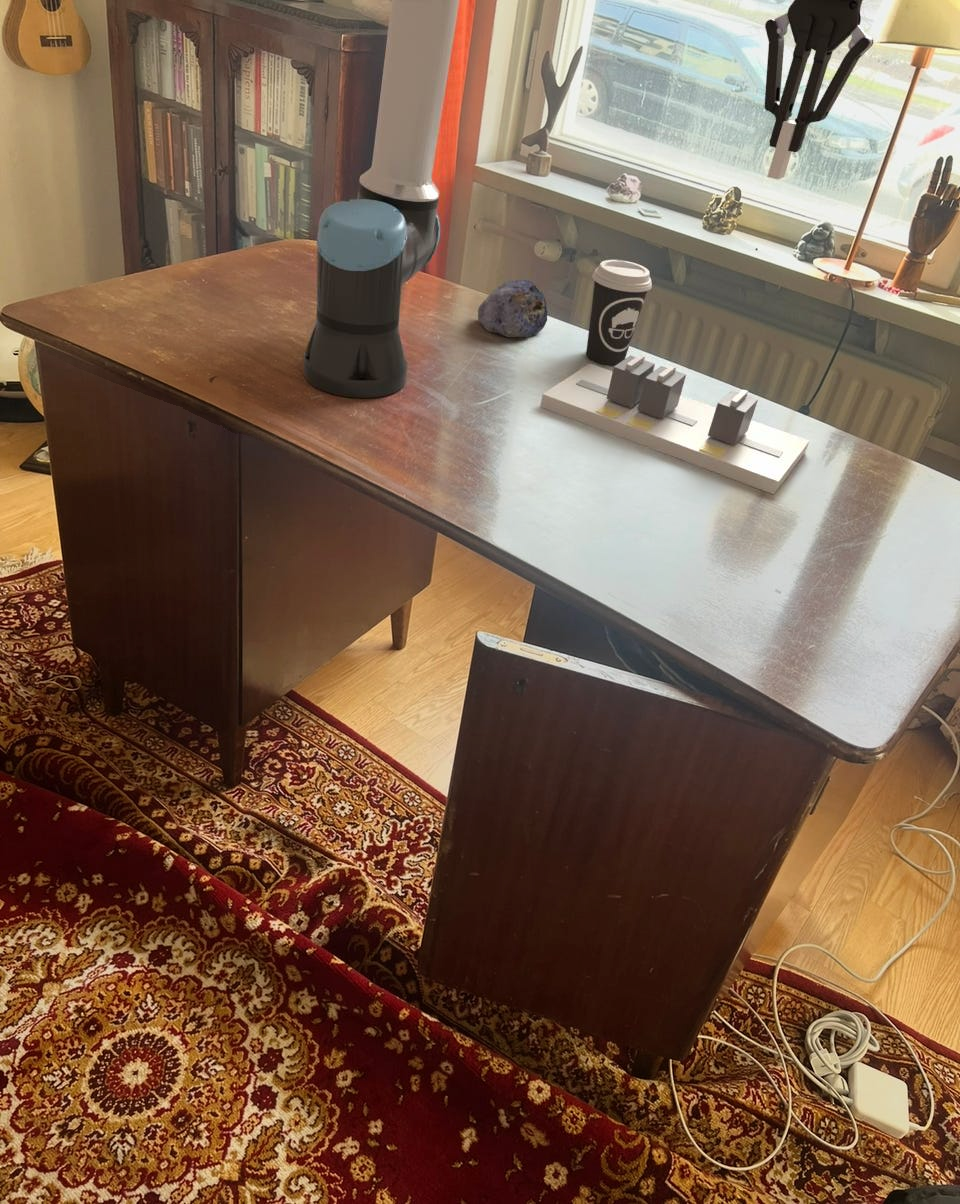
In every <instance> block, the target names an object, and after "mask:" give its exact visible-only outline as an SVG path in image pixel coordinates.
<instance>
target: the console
mask: <svg viewBox="0 0 960 1204" xmlns="http://www.w3.org/2000/svg"><path fill="white" fill-rule="evenodd" d="M612 373H613V370H609V369H607V368H604V367H600V366H599V365H594V364H592V363H588V364H587V365H585V366H584V367H582V368H580V369H579V370H577V371H576V372H574V373H573V374H571V375H569V376H568V377H567V378H565V379H563V380H562V381H560V382H559V383H557V384H556V385H554V386H552V387H551V388H549V389H548V390H546V391H545V392H543V393H542V395H541V401H540V407H541V408H543V409H545V410H548V411H550V412H554V413H557V414H559V415H562V416H565V417H568V418H570V419H573V420H576V421H578V422H581V423H583V424H586V425H589V426H590V427H594V428H597V429H599V430H602V431H605V432H607V433H610V434H613V435H615V436H618V437H620V438H623V439H626V440H628V441H631V442H634V443H636V444H639V445H641V446H644V447H647V448H650V449H651V450H655V451H658V452H661V453H663V454H665V455H667V456H672V458H673V457H674V458H676V459H679V460H682V461H684V462H687V463H689V464H692V465H695V466H697V467H700V468H702V469H704V470H708V471H711V472H713V473H716V474H718V475H722V476H724V477H725V478H726V477H727V478H729V479H732V480H735V481H737V482H740V483H743V484H745V485H747V486H748V485H749V486H750V487H753V488H756V489H758V490H761V491H763V492H766V493H770V494H771V495H775V493H776V492H777V491H778V490H779V489H780V487H781V486H782V484H783V483H784V482H785V480H786V479H787V478H788V476H789V475H790V474H791V472H793V470H794V468H795V467H797V464H798V463H799V462H800V461H801V459H802V458H803V457H804V455H805V454H806V451H807V449H808V446H809V443H810V440H809V439H806V438H803V437H801V436H797V435H794V434H791V433H789V432H785V431H783V430H781V429H777V428H774V427H772V426H769V425H766V424H763V423H760V422H758V421H754V420H753V419H751V422H750V425H749V428H748V431H747V432H746V433H745V434H744V435H743V437H742V438H741V439H740V440H739V441H738V442H737V443H736V444H735V445H732V444H730V443H727V442H724V441H721V440H719V439H716V438H713V437H710V436H708V433H709V430H710V426H711V423H712V420H713V417H714V413H715V410H716V407H714V406H713V405H712V406H711V405H709V404H706V403H703V402H701V401H697V400H694V399H691V398H689V397H686V396H683V395H682V394H681V395H680V399H679V402H678V406H677V407H676V408H675V409H674V410H672V411H671V412H670V413H669V414H668V415H667V416H665V417H664V418H663V419H661V418H658V417H655V416H652V415H650V414H647V413H644V412H641V411H639V410H637V409H638V405H639V402H638V403H637V404H635V405H634V406H633V407H631V408H630V407H628V406H625V405H622V404H619V403H617V402H614V401H611V400H608V399H607V394H608V390H609V386H610V381H611V377H612Z"/></svg>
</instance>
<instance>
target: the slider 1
mask: <svg viewBox="0 0 960 1204" xmlns="http://www.w3.org/2000/svg"><path fill="white" fill-rule="evenodd" d="M645 358H646V356H645V355H643V354H639V355H637V356H633V355H629V356H628V357H627V356H626V357H625V359H624V360H623V361H622V362H620V363H619V364H617V365H616V366H613V368H612V372H613V373H612V377H611V381H610V386H609V390H608V394H607V399H608V400H611V401H614V402H617V403H619V404H622V405H625V406H628V407H630V408H631V407H633V406H634V405H635V404H637V403H638V402H639V401H640V397H641V393H642V389H643V385H644V381H645V378H646V377H647V376H648V375H650V374H651V373H652V372H654V371H655V365H656V364H655V362H654V363H653V362H650V361H648V360H645Z"/></svg>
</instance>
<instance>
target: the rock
mask: <svg viewBox="0 0 960 1204" xmlns="http://www.w3.org/2000/svg"><path fill="white" fill-rule="evenodd" d="M546 302H547V301H546V298H545V295H544V293H543V292H542V291H540V289H538V288H537V286H536V285H535V284H534V283H533V282H532V281H530V280H523V279H522V280H515V281H514V280H507V281H504V282H503V283H502V285H500V286H498V287H497V288H496V289H493V290H492V292H491V293H490V294H489V295H488V296H487V297H486V298H485V300H484V301H482V303H481V304H480V305H479V307H477V308H478V309H477V319H478V322H479V323H480V324H482V327H484V329H485V330H486V331H488V332H491V333H495V334H496V333H498V334H499V335H501V336H504V337H508V338H518V337H519V338H520V337H522V338H529V337H531V336H535V335H537V334H539V333H540V332H541V331H542V330H543V329H544V328H545V327H546V326H545V325H547V322H548V309H547V303H546Z"/></svg>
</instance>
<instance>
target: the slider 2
mask: <svg viewBox="0 0 960 1204" xmlns="http://www.w3.org/2000/svg"><path fill="white" fill-rule="evenodd" d="M676 369H677V366H675V365H671V364H670V365H669V366H668V367H666V366H662V365H660V366H659V367H657V368H656V369H654V370H653V372H652V373H651V374H650V375H648V376H647V377H646V378H645V381H644V385H643V389H642V393H641V397H640V401H639V405H638V409H637V410H639V411H641V412H644V413H647V414H650V415H652V416H655V417H658V418H661V419H663V418H664V417H665V416H667V415H668V414H669V413H670V412H671V411H672V410H674V409H675V408H676V407H677V406H678V402H679V399H680V395H681V396H682V392H683V387H684V384H685V380H686V376H687V374H686V373H683V372H680V371H677V370H676Z"/></svg>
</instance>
